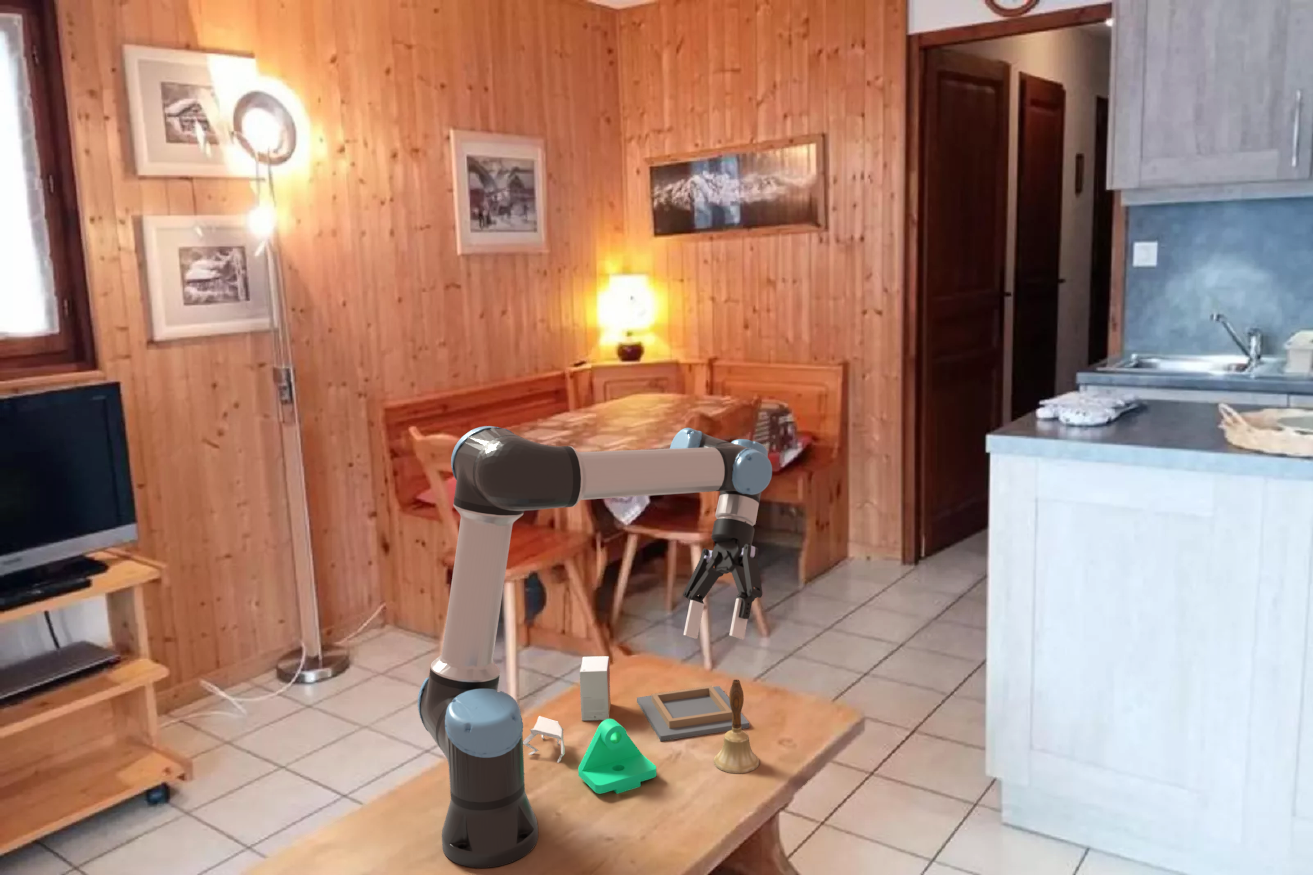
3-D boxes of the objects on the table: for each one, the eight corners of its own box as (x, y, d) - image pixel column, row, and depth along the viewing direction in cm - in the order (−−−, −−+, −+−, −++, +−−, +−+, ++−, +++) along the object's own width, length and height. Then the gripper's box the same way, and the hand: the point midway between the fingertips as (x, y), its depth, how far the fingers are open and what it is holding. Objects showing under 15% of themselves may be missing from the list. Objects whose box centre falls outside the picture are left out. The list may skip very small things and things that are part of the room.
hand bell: (768, 764, 187) (768, 682, 185) (732, 778, 183) (732, 694, 180) (740, 747, 194) (739, 667, 191) (704, 760, 190) (703, 678, 187)
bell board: (660, 741, 197) (660, 729, 197) (636, 702, 214) (636, 690, 214) (749, 727, 202) (749, 715, 201) (719, 690, 219) (719, 679, 218)
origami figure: (511, 750, 195) (510, 726, 194) (546, 735, 201) (545, 711, 200) (552, 772, 187) (551, 746, 186) (587, 755, 193) (586, 730, 192)
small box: (609, 721, 206) (607, 671, 204) (580, 721, 206) (579, 671, 204) (611, 703, 214) (609, 655, 212) (584, 703, 214) (582, 655, 212)
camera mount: (597, 800, 177) (596, 744, 175) (578, 781, 183) (576, 727, 182) (658, 781, 183) (657, 727, 181) (638, 763, 189) (636, 711, 187)
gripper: (795, 523, 181) (774, 643, 175) (710, 534, 202) (688, 641, 195) (763, 510, 178) (740, 631, 171) (679, 522, 198) (656, 631, 192)
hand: (712, 637), depth 183 cm, fingers open, 13 cm apart
